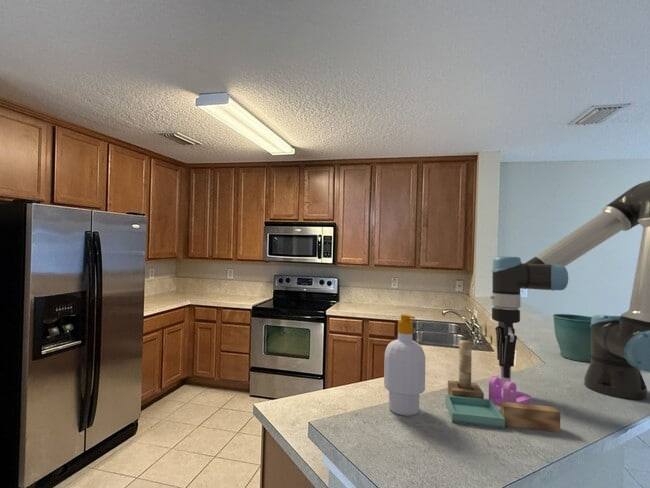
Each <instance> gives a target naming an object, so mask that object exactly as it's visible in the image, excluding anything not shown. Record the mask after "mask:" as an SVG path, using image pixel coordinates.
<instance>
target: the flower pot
mask: <svg viewBox="0 0 650 488" xmlns="http://www.w3.org/2000/svg"><path fill="white" fill-rule="evenodd" d="M552 317H553V325H554V334H555V339H556V341H557V345H558V348H559V350H560V355H561V357H563V358H567V359H569V360H573V361H578V362H584V363H585V362H587V363H591V327H590V325H591V319H592V317H593V316H589V315H588V316H587V315H579V314H569V313H568V314H567V313H554V314H552Z"/></svg>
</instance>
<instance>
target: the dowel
mask: <svg viewBox="0 0 650 488" xmlns="http://www.w3.org/2000/svg"><path fill="white" fill-rule="evenodd" d="M472 345H473V344H472V341H470V340H465V339H461V340H459V345H458V346H459V348H458V349H459V351H458V353H459V355H458V356H459V357H458V360H459V361H458V381H459V388H462V389H471V383H472V355H473V354H472V351H473V350H472V348H473V346H472Z"/></svg>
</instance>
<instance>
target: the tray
mask: <svg viewBox="0 0 650 488" xmlns="http://www.w3.org/2000/svg"><path fill="white" fill-rule="evenodd" d="M444 398H445V400H444V402H445V406H446V409H447V411H448V415H449V418H450V420H451V423H452V424H453V423H455V424H462V425H471V426H480V427H487V428H496V429H506V426H505V418H504V417H503V416H502V414H501V413H500V409H499V408H498V406H496V405H495V404H494V403H493V401H492V400H490V399H489V398H488V399H487V398H484V399H480V398H471V397H461V396H451V395H448V394H445V397H444Z"/></svg>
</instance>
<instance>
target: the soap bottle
mask: <svg viewBox="0 0 650 488" xmlns="http://www.w3.org/2000/svg"><path fill="white" fill-rule="evenodd" d="M411 319H416V316H413V315H411V314H405V313H404V314H403V313H402V314H400V319H399V320H397V321H398V323H397V324H398V325H397V326H398V328H397V339H394V340H392V341H390V342H389V343H388V344H387V346H386V348H385V352H384V365H383V367H384V368H383V370H384V372H383V375H384V376H383V385H384V389H386V390H387V391H388V408H389V410H390V411H392V413H394V414H395V415H400V416H404V417H405V416H408V417H409V416H414V415H416V414H418V413H419V411H420V395H421V394H423V393H424V392H425V390H426V354H425V351H424V349H423V347H422V346H421V345H420V344H419V343H418V342H416V341H415V340H413V326H414V325H413V320H411Z"/></svg>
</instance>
